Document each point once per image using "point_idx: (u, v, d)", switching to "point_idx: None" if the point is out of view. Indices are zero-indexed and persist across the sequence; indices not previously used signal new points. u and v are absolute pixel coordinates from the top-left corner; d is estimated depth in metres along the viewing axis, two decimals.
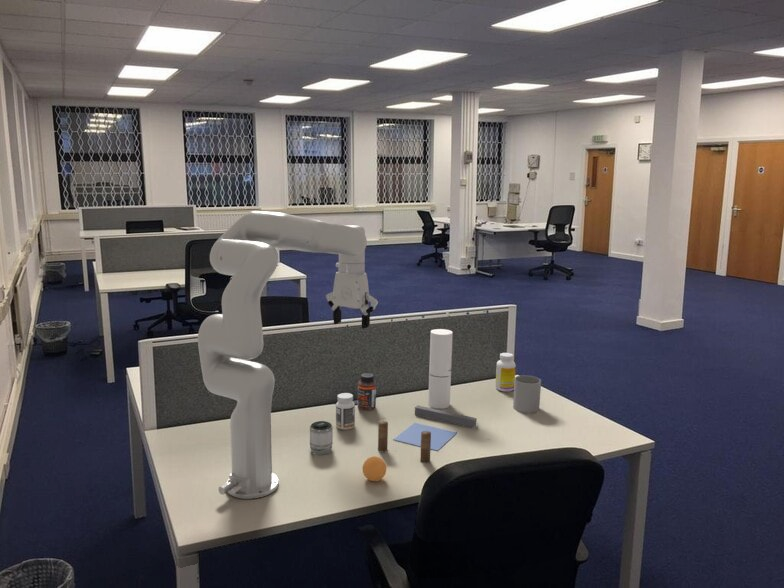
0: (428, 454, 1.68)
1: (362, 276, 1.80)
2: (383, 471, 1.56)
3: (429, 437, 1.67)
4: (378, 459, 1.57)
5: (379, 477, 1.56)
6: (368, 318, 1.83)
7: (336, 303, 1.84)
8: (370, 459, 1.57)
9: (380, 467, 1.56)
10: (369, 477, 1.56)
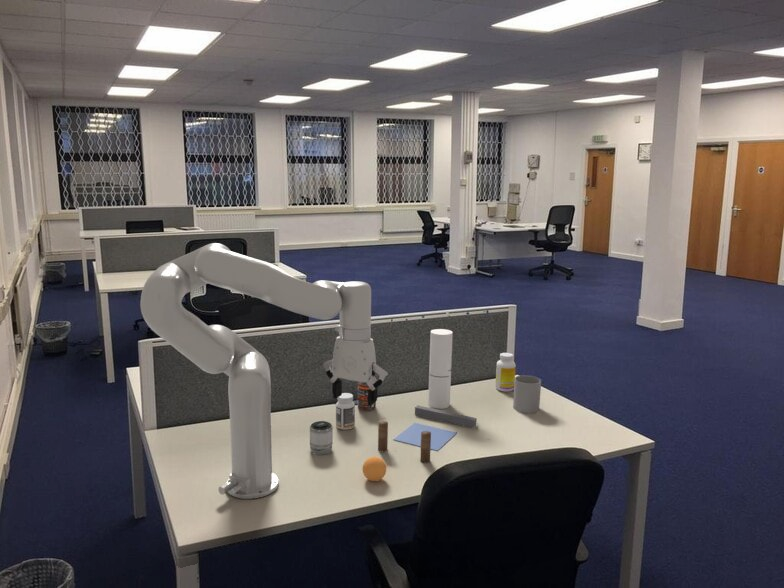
0: (428, 454, 1.68)
1: (369, 344, 1.49)
2: (383, 471, 1.56)
3: (429, 437, 1.67)
4: (378, 459, 1.57)
5: (379, 477, 1.56)
6: (375, 393, 1.52)
7: (336, 375, 1.53)
8: (370, 459, 1.57)
9: (380, 467, 1.56)
10: (369, 477, 1.56)
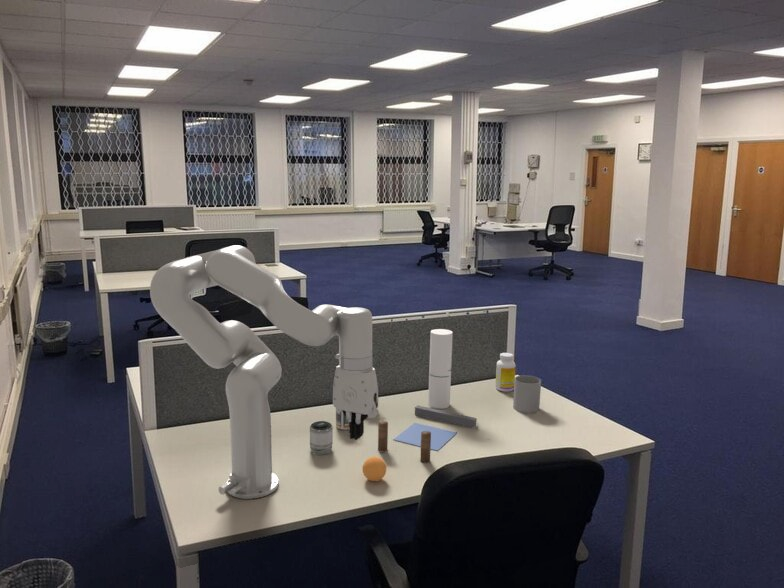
0: (428, 454, 1.68)
1: (369, 374, 1.41)
2: (383, 471, 1.56)
3: (429, 437, 1.67)
4: (378, 459, 1.57)
5: (379, 477, 1.56)
6: (361, 426, 1.46)
7: (337, 406, 1.45)
8: (370, 459, 1.57)
9: (380, 467, 1.56)
10: (369, 477, 1.56)
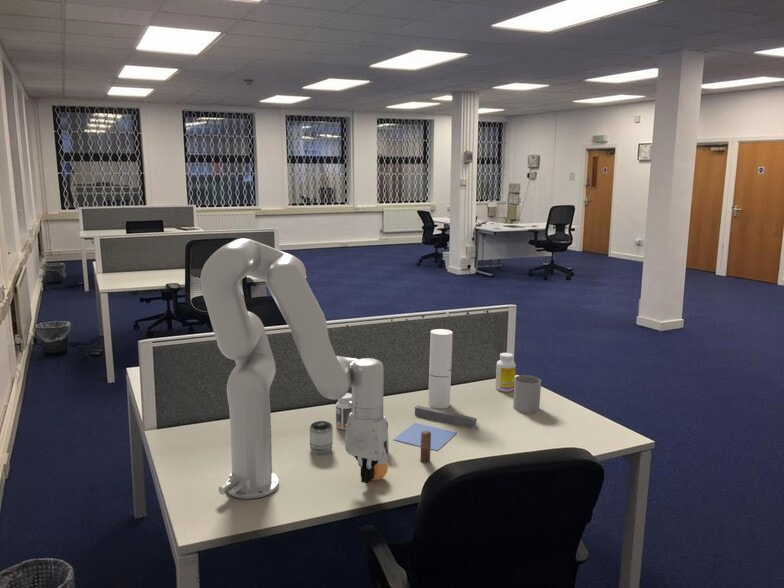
0: (428, 454, 1.68)
1: (380, 423, 1.48)
2: (384, 470, 1.57)
3: (429, 437, 1.67)
4: None
5: (380, 476, 1.56)
6: (372, 471, 1.54)
7: (349, 451, 1.53)
8: None
9: (381, 466, 1.56)
10: None
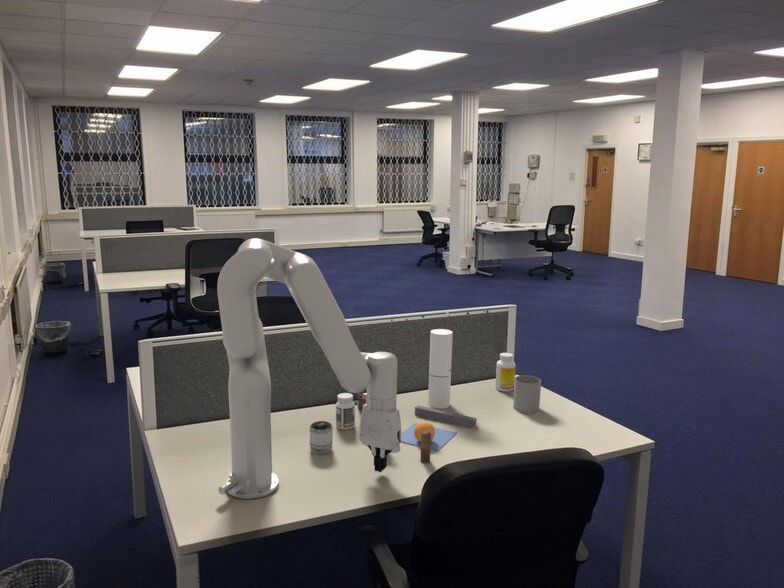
0: (428, 454, 1.68)
1: (394, 413, 1.55)
2: (434, 433, 1.79)
3: (429, 437, 1.67)
4: None
5: (432, 428, 1.79)
6: (385, 460, 1.60)
7: (363, 441, 1.59)
8: None
9: None
10: (427, 422, 1.81)
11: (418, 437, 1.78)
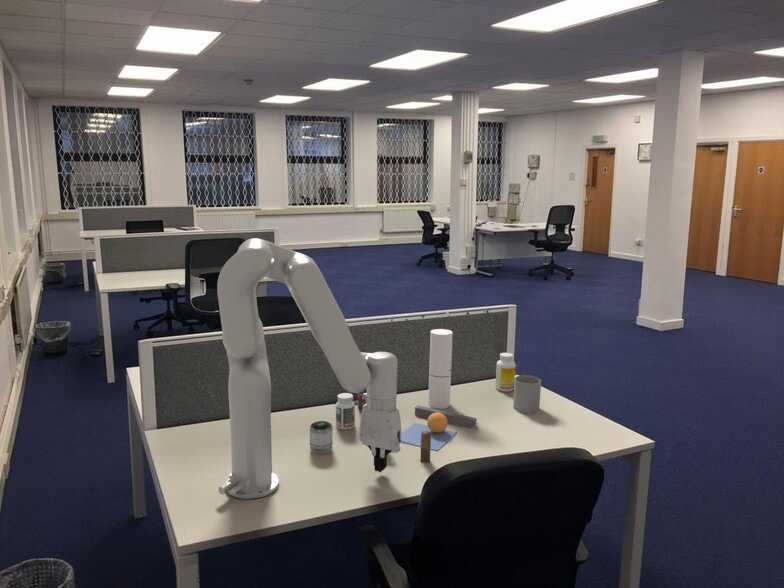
0: (428, 454, 1.68)
1: (394, 413, 1.55)
2: (445, 426, 1.86)
3: (429, 437, 1.67)
4: (436, 423, 1.84)
5: (445, 428, 1.87)
6: (385, 460, 1.60)
7: (363, 441, 1.59)
8: (431, 425, 1.85)
9: (442, 428, 1.85)
10: None
11: None
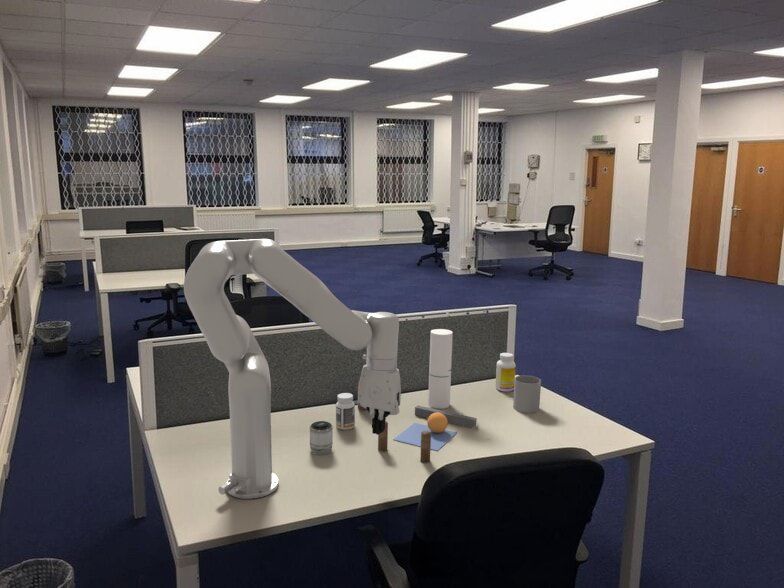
0: (428, 454, 1.68)
1: (394, 374, 1.53)
2: (445, 426, 1.86)
3: (429, 437, 1.67)
4: (436, 423, 1.84)
5: (445, 428, 1.87)
6: (383, 422, 1.58)
7: (362, 402, 1.56)
8: (431, 425, 1.85)
9: (442, 428, 1.85)
10: None
11: None
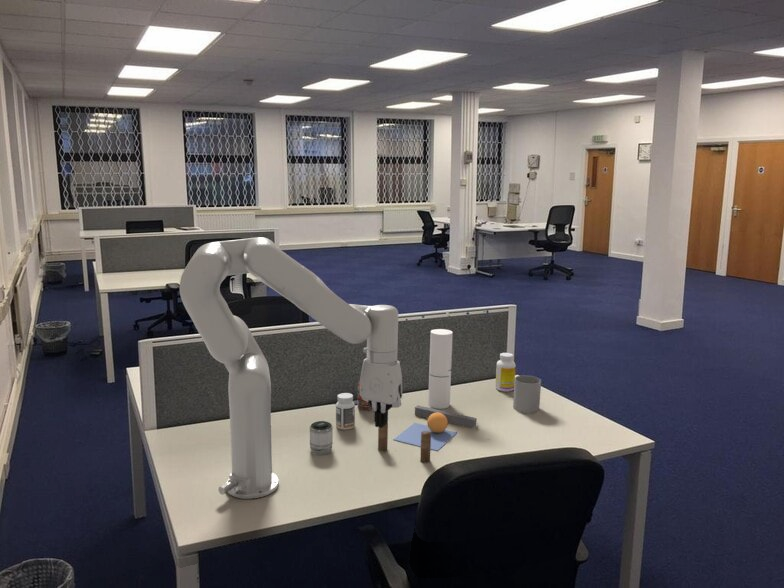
0: (428, 454, 1.68)
1: (395, 366, 1.52)
2: (445, 426, 1.86)
3: (429, 437, 1.67)
4: (436, 423, 1.84)
5: (445, 428, 1.87)
6: (386, 415, 1.58)
7: (364, 396, 1.56)
8: (431, 425, 1.85)
9: (442, 428, 1.85)
10: None
11: None
